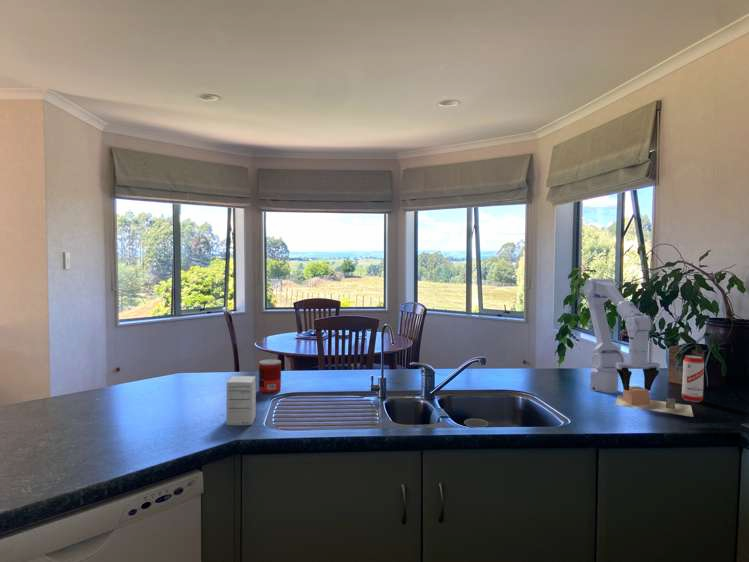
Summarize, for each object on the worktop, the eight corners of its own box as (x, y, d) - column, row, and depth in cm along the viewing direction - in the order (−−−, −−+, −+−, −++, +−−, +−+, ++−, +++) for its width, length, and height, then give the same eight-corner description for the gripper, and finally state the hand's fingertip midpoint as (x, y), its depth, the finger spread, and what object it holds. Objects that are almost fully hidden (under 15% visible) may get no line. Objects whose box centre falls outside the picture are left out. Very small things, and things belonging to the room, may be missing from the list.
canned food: (284, 389, 173) (285, 360, 172) (271, 395, 165) (271, 364, 165) (268, 387, 176) (268, 358, 175) (254, 392, 169) (254, 362, 168)
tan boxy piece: (631, 404, 158) (632, 389, 158) (622, 400, 163) (623, 385, 163) (649, 404, 158) (650, 389, 158) (640, 400, 163) (641, 385, 163)
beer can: (705, 403, 165) (707, 358, 165) (686, 402, 166) (688, 357, 166) (697, 398, 171) (699, 355, 171) (678, 397, 173) (680, 354, 172)
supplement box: (231, 417, 141) (231, 375, 141) (256, 416, 142) (256, 375, 142) (225, 425, 134) (225, 382, 134) (251, 425, 135) (252, 382, 134)
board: (614, 408, 158) (615, 395, 158) (617, 398, 170) (618, 386, 170) (693, 420, 146) (694, 407, 146) (690, 409, 158) (691, 396, 158)
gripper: (624, 352, 155) (623, 392, 156) (666, 352, 156) (664, 392, 157) (612, 348, 162) (611, 387, 163) (652, 349, 163) (651, 387, 164)
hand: (636, 389), depth 160 cm, fingers open, 7 cm apart
